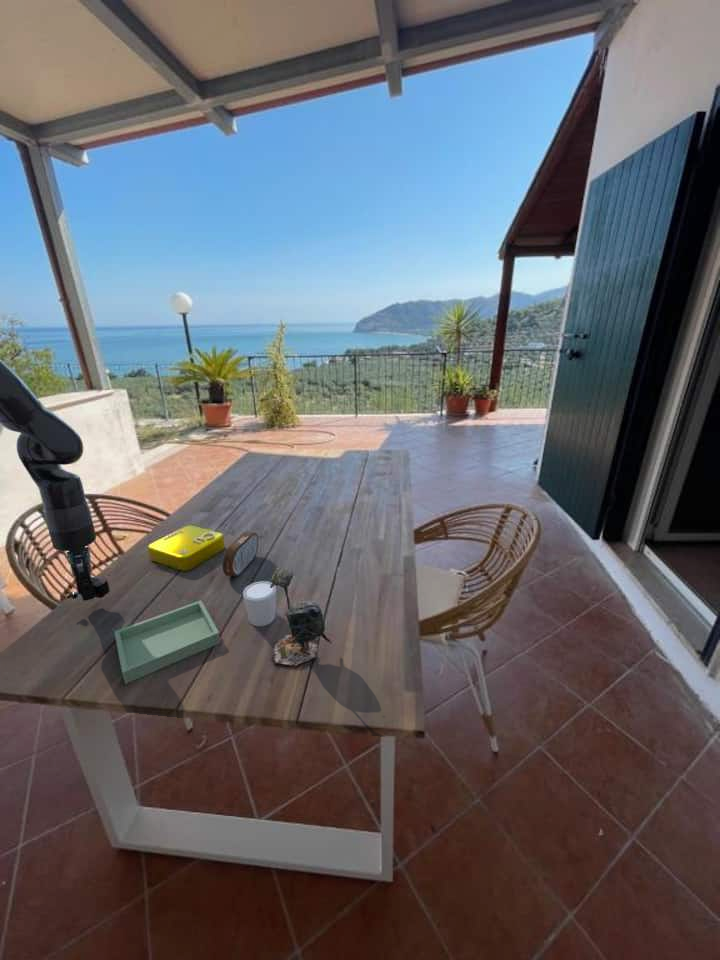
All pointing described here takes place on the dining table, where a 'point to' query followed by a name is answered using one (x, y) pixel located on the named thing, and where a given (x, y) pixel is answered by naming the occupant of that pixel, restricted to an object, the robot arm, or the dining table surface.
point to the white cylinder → (260, 603)
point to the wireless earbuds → (98, 585)
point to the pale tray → (165, 640)
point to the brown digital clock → (240, 554)
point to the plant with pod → (298, 626)
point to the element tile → (186, 547)
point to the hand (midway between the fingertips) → (88, 591)
